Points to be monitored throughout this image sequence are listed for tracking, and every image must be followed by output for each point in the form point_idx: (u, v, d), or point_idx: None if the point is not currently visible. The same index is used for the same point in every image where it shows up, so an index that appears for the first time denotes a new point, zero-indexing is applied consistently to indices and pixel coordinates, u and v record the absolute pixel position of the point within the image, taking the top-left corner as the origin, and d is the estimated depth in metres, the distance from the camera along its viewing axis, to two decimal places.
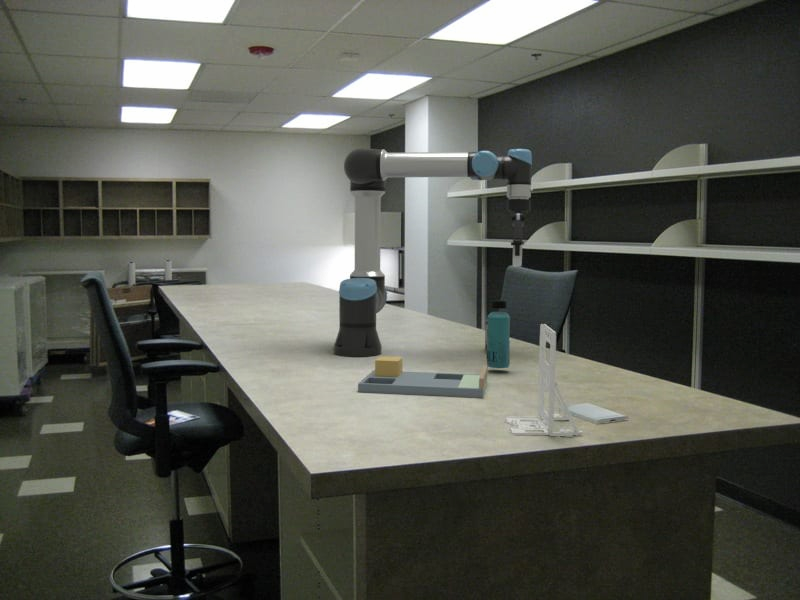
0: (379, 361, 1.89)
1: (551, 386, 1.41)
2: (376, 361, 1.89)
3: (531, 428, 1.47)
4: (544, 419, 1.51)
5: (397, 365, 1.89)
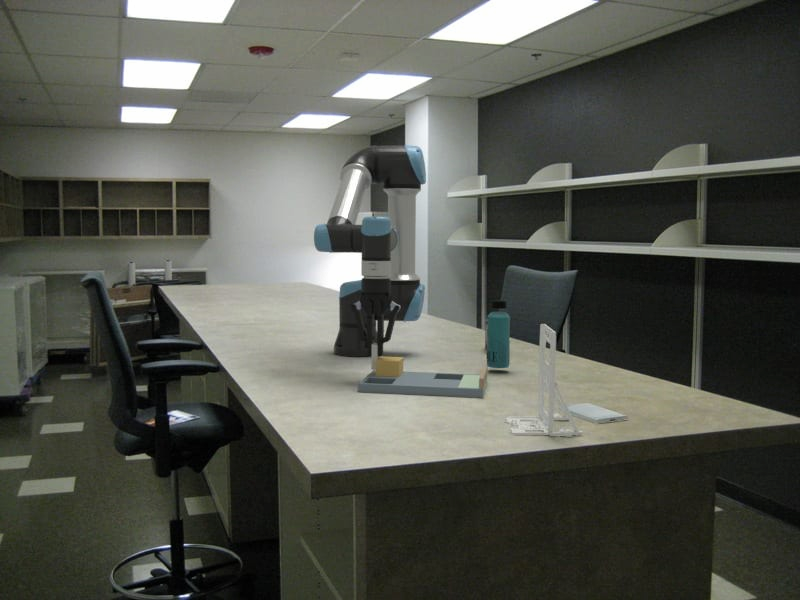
0: (380, 361, 1.89)
1: (551, 386, 1.41)
2: (377, 361, 1.89)
3: (531, 428, 1.47)
4: (544, 419, 1.51)
5: (398, 365, 1.89)
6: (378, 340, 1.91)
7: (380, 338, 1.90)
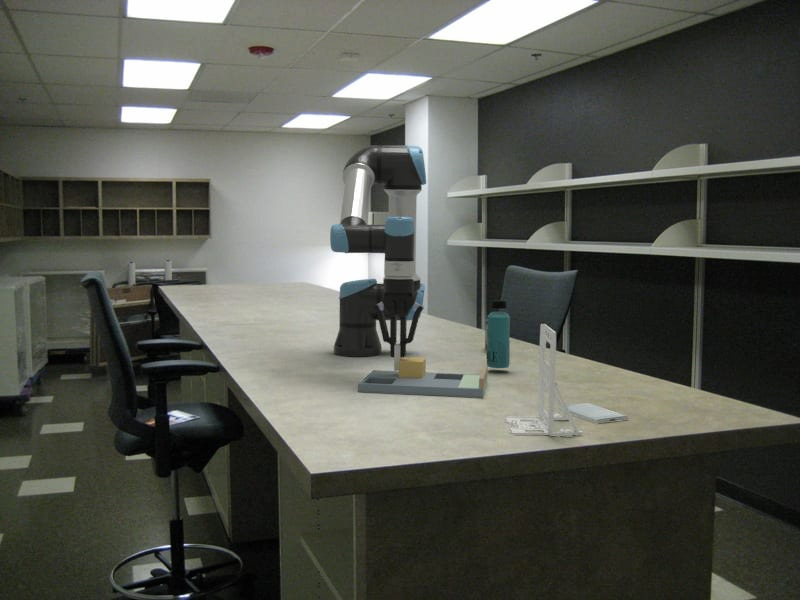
0: (403, 362, 1.88)
1: (551, 386, 1.41)
2: (400, 362, 1.88)
3: (531, 428, 1.47)
4: (544, 419, 1.51)
5: (421, 366, 1.87)
6: (401, 341, 1.90)
7: (403, 339, 1.89)
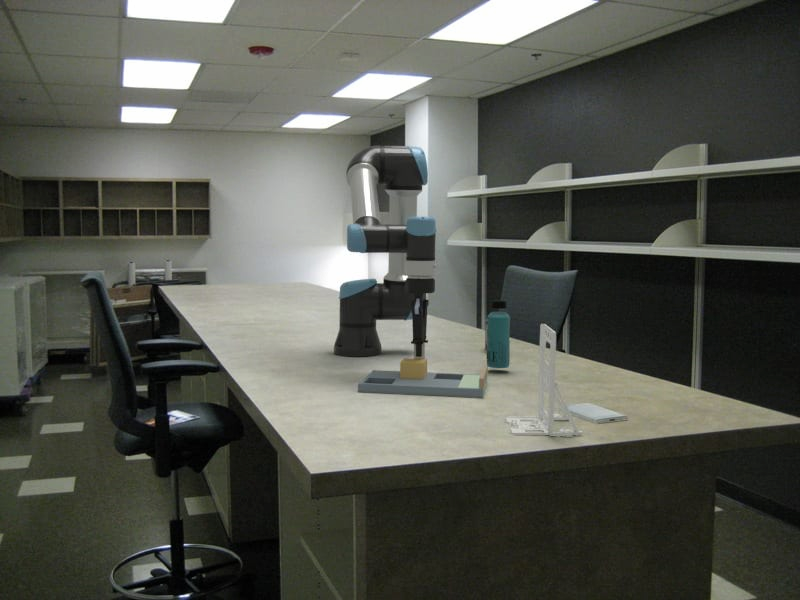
0: (404, 363, 1.87)
1: (551, 386, 1.41)
2: (401, 363, 1.87)
3: (531, 428, 1.47)
4: (544, 419, 1.51)
5: (423, 367, 1.86)
6: (424, 339, 1.93)
7: (425, 336, 1.94)
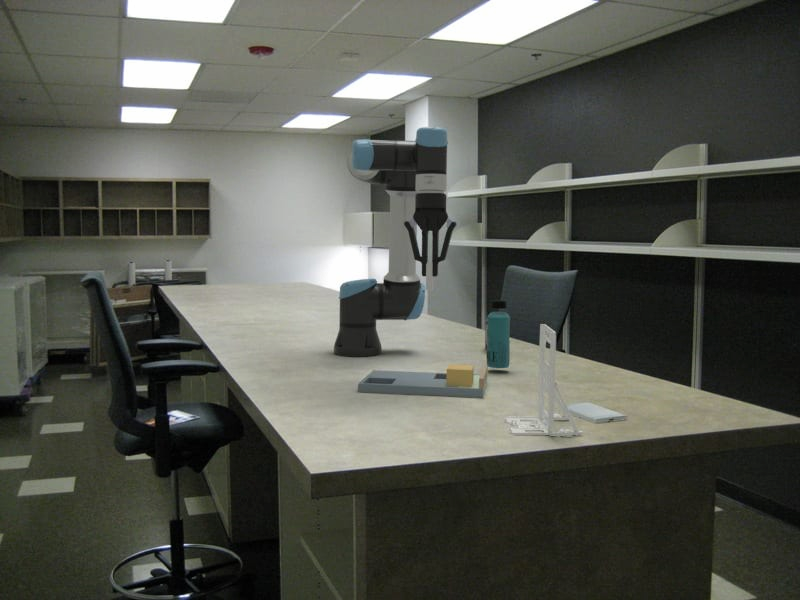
0: (451, 370, 1.78)
1: (551, 386, 1.41)
2: (448, 370, 1.78)
3: (531, 428, 1.47)
4: (544, 419, 1.51)
5: (470, 374, 1.77)
6: (433, 259, 1.81)
7: (435, 257, 1.81)
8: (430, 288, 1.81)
